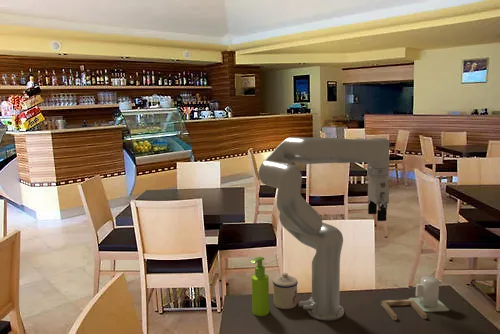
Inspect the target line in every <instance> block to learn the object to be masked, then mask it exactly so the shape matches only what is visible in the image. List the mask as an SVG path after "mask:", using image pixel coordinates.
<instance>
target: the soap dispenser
mask: <svg viewBox="0 0 500 334" xmlns="http://www.w3.org/2000/svg"><path fill="white" fill-rule="evenodd" d="M264 260H265V257H262V256H258V257H254V258H252V260H250V263H251V264H257V265H255V267H254V274H253V275H251V301H252V302H251V303H252V304H251V305H252V314H253V315H255V316H258V317H263V316H267V315H268V314H269V313H270V293H269V292H270V290H269V289H270V288H269V287H270V285H269V281H270V280H269V275H268V274H266V269H265V265H263V261H264Z"/></svg>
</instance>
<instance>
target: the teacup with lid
mask: <svg viewBox="0 0 500 334" xmlns="http://www.w3.org/2000/svg"><path fill="white" fill-rule="evenodd" d="M272 284H273V285H272V286H273V287H272V289H273V305H274V307H276V308H278V309H282V310H290V309H293V308H295V307H296V306H298V284H299V281H298V279H297V278H296V277H294V276H292V275H289V274H288V273H286V272H283V273H282V274H281V275H278V276H275V277H274V278H273V280H272Z"/></svg>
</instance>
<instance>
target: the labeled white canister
mask: <svg viewBox="0 0 500 334" xmlns="http://www.w3.org/2000/svg"><path fill="white" fill-rule="evenodd" d="M442 284H443V280H441V279H438V278H436V277H433V276H426V275H425V276H422V277H421V278H420V283H416V284H415V297H416V298H420V301H419V302H420V304H421V305H423V306H426V307H431V308H434V307H437V306H438V300H439V294H440V293H439V291H440V290H439V289H440V286H442Z"/></svg>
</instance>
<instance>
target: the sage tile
mask: <svg viewBox="0 0 500 334" xmlns="http://www.w3.org/2000/svg"><path fill="white" fill-rule="evenodd" d="M408 299H412V300H413V301H414V302H415V303H416V304H417V305H418V306H419V307H420V308H421V309H422V310H423V311H424V312H425V313H428V312H431V313H432V312H449V311H450V309H449V308H448V307H447V306H446V305H445V304H444V303H443V302H442V301H440V300H439V299H438V306H437V307H434V308H431V307H426V306H423V305H421V304H420V302H419V301H420V297H408Z"/></svg>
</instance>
